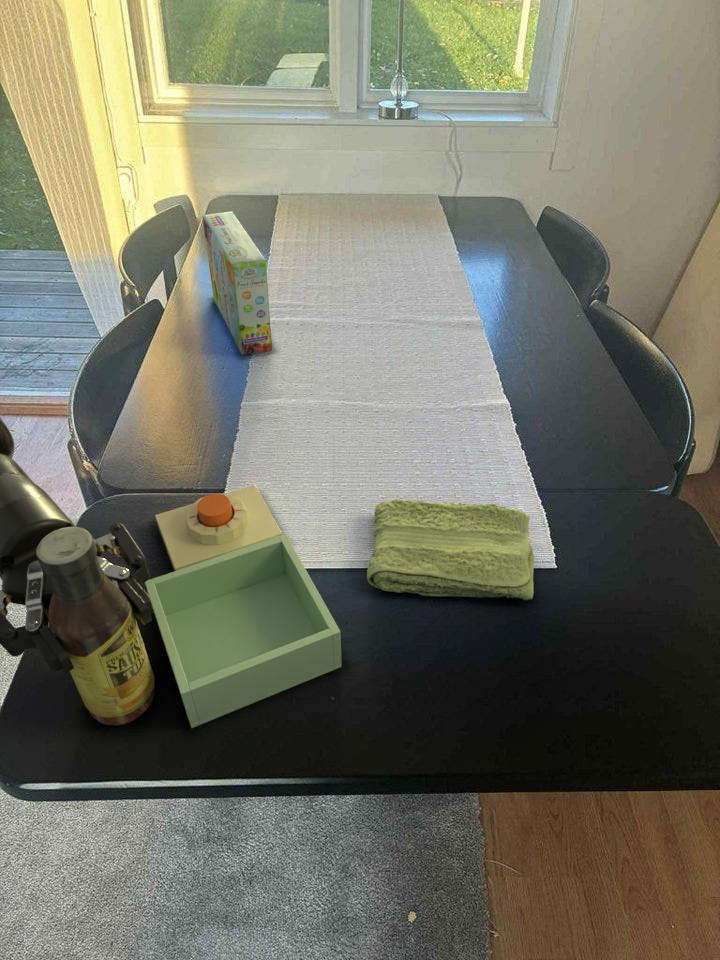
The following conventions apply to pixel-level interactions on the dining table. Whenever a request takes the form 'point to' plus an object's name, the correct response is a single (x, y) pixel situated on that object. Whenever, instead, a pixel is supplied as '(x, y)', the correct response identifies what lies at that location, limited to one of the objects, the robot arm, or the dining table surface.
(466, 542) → the washcloth
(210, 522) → the button
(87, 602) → the sauce bottle
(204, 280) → the dining table surface
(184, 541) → the panel
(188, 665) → the sage green tray
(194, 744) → the dining table surface
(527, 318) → the dining table surface
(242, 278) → the snack box
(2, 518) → the robot arm
